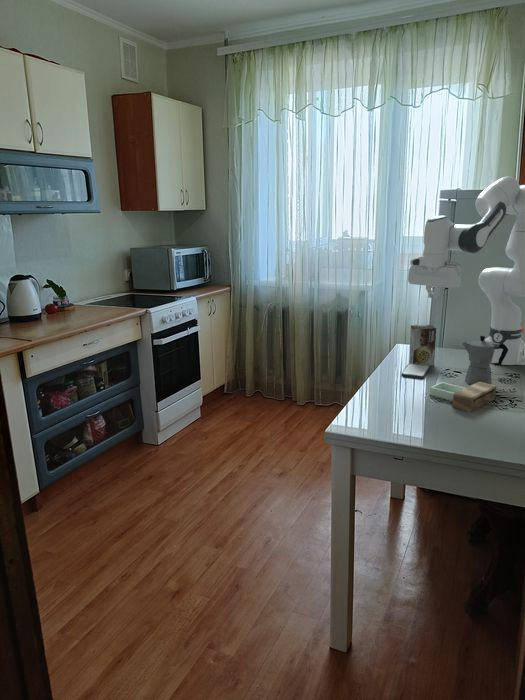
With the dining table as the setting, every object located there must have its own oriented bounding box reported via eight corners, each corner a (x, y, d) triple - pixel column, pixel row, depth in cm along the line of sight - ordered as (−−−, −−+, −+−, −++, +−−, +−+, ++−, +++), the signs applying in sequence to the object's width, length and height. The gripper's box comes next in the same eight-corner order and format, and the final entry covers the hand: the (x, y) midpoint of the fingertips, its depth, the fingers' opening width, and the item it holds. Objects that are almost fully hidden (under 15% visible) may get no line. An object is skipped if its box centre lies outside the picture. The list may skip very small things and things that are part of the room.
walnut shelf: (477, 394, 178) (479, 381, 177) (494, 399, 173) (496, 385, 172) (452, 407, 167) (453, 393, 166) (470, 412, 163) (471, 398, 161)
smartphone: (408, 367, 212) (400, 377, 198) (408, 363, 212) (400, 373, 198) (430, 369, 209) (423, 380, 195) (430, 365, 208) (424, 376, 194)
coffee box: (429, 361, 217) (432, 324, 213) (434, 366, 211) (437, 327, 207) (408, 361, 217) (410, 324, 213) (412, 366, 211) (414, 328, 207)
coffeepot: (458, 384, 188) (462, 337, 184) (459, 377, 196) (463, 331, 192) (504, 389, 182) (509, 340, 177) (504, 381, 190) (509, 334, 186)
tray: (441, 389, 183) (442, 381, 182) (484, 401, 171) (485, 393, 171) (429, 395, 178) (429, 387, 177) (473, 407, 166) (473, 398, 166)
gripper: (465, 261, 184) (462, 299, 187) (415, 258, 199) (414, 294, 202) (456, 263, 180) (454, 302, 184) (406, 260, 195) (405, 296, 198)
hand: (432, 297), depth 193 cm, fingers closed
